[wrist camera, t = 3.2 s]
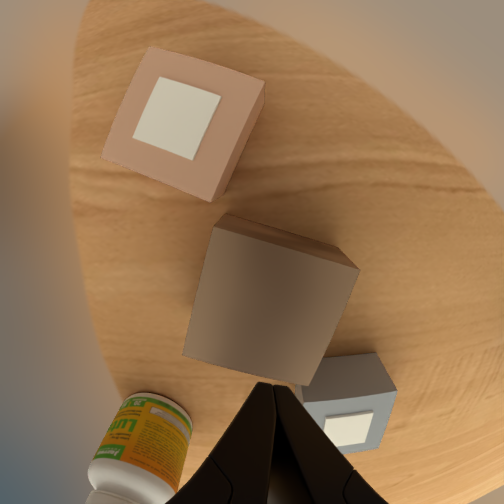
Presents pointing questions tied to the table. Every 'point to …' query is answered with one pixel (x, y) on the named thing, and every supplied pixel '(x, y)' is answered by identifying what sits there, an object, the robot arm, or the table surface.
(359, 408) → the grey cream-patch block
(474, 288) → the table surface
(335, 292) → the walnut block
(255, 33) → the table surface
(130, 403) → the supplement bottle
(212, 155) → the tan cream-patch box
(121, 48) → the table surface
